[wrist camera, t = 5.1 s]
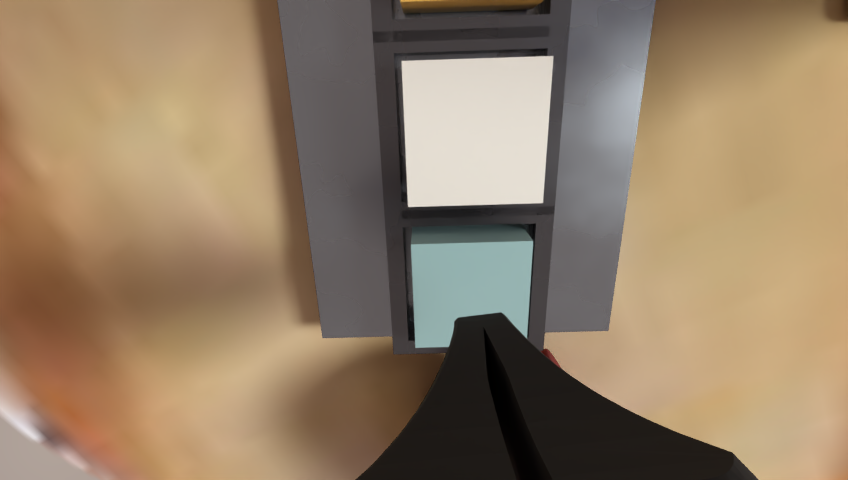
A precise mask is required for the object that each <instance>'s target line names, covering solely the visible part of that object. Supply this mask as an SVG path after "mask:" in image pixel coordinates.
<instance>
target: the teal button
mask: <svg viewBox="0 0 848 480" xmlns="http://www.w3.org/2000/svg"><path fill="white" fill-rule="evenodd" d="M532 253H533V240H532V238H531V237H530V236H529V234H528V233H527V231H526V230H525V228H524V227H523V226H522V224H499V225H463V226H428V227H412V237H411V258H412V281H413V304H414V327H415V348H427V347H449V345H450V341H451V338H452V334H453V329H454V321H455V320H456V319H457V318H458V317H466V316H475V315H483V314H491V313H499V312H502V313H503V314H504V315H505V316H506V317H507V318H508V319H509V320H510V321H511V322H512V324H513V325H514V326H515V327H516V328H517V329H518V330H519V331H520V332H521V333H522V334H523V335H524V336H525V337H526V338H527V329H528V314H529V298H530V283H531V268H532Z"/></svg>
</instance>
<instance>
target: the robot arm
mask: <svg viewBox="0 0 848 480" xmlns="http://www.w3.org/2000/svg"><path fill="white" fill-rule="evenodd" d="M356 480H758V479H757V478H756V477H755V475H754V474H753V473H752V472H751V471H750V470H749V469H748V468H747V467H746V466H745V465H744V464H743V463H742V462H741V461H740V460H739V459H738V458H737V457H736V456H735V455H734V454H733V453H732V452H729V451H726V450H724V449H721V448H718V447H715V446H713V445H710V444H707V443H704V442H702V441H699V440H696V439H693V438H691V437H688V436H685V435H682V434H680V433H677V432H675V431H672V430H670V429H668V428H666V427H663V426H661V425H659V424H657V423H654V422H652V421H650V420H647V419H645V418H643V417H641V416H639V415H637V414H635V413H633V412H631V411H629V410H627V409H625V408H623V407H621V406H619V405H618V404H616V403H614V402H612V401H610V400H608V399H607V398H605V397H603V396H601V395H600V394H598V393H596V392H595V391H593V390H591V389H590V388H588V387H587V386H585V385H584V384H582V383H581V382H579V381H578V380H576V379H575V378H573V377H572V376H570V375H569V374H568V373H566V372H565V371H564V370H562V369H561V368H560V367H559V366H557V365H556V364H555V363H554V362H552V361H551V360H550V359H549V358H548V357H546V356H545V355H544V354H543V353H542V352H541V351H540V350H539V349H538V348H536V347H535V346H534V345H533V344H532V343H531V342H530V341H529V340H528V339H527V338H526V337H525V336H524V335H523V334H522V333H521V332H520V331H519V330H518V329H517V328H516V327H515V326H514V325H513V324H512V322H511V321H510V320H509V319H508V318H507V317H506V316H505V315H504V314H503V313H502V312H499V313H491V314H483V315H475V316H466V317H458V318H457V319H456V320H455V321H454V329H453V334H452V338H451V341H450V345H449V348H448V350H447V353H446V356H445V358H444V361H443V363H442V366H441V368H440V370H439V372H438V374H437V376H436V378H435V380H434V383H433V384H432V386H431V388H430V390H429V392H428V393H427V395H426V397H425V399H424V400H423V402H422V403H421V405H420V407H419V408H418V410H417V411H416V413H415V414H414V415H413V417H412V418H411V420H410V421H409V422H408V424H407V425H406V427H405V428H404V429H403V430H402V432H401V433H400V434H399V435H398V437H397V438H396V439H395V440H394V441H393V442H392V443H391V445H390V446H389V447H388V448H387V449H386V450H385V451H384V452H383V454H382V455H381V456H380V457H379V458H378V459H377V460H376V461H375V462H374V463H373V464H372V465H371V466H370V467H369V468H368V469H367V470H366V471H365V472H364V473H363V474H362V475H360V476H359V477H358V478H357V479H356Z"/></svg>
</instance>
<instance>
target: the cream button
mask: <svg viewBox="0 0 848 480" xmlns="http://www.w3.org/2000/svg"><path fill="white" fill-rule="evenodd" d="M401 62H402V84H403V106H404V128H405V151H406V173H407V195H408V207H427V206H462V205H496V204H531V203H543V196H544V182H545V168H546V154H547V140H548V126H549V112H550V98H551V84H552V70H553V56H536V57H506V58H475V59H444V60H414V61H401Z"/></svg>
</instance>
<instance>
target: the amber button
mask: <svg viewBox="0 0 848 480" xmlns="http://www.w3.org/2000/svg"><path fill="white" fill-rule="evenodd" d="M543 1H544V0H400V3H401V6H402V10H403V13H404V14H407V13H437V12H466V11H496V10H525V9H532V8H534V7H535V6H537V5H538V4H540V3H541V2H543Z"/></svg>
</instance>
